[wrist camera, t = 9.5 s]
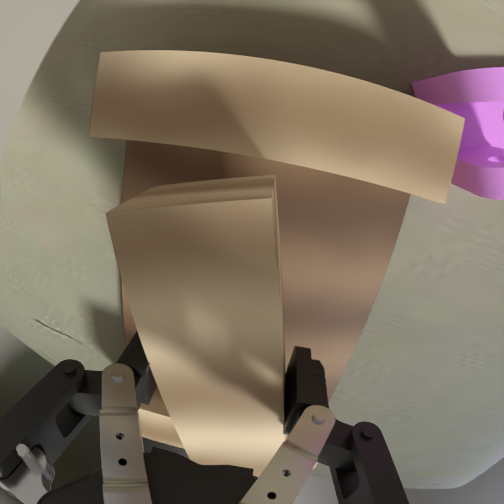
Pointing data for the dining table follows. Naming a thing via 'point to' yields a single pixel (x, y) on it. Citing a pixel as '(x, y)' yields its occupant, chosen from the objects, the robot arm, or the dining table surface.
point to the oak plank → (210, 311)
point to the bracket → (473, 125)
